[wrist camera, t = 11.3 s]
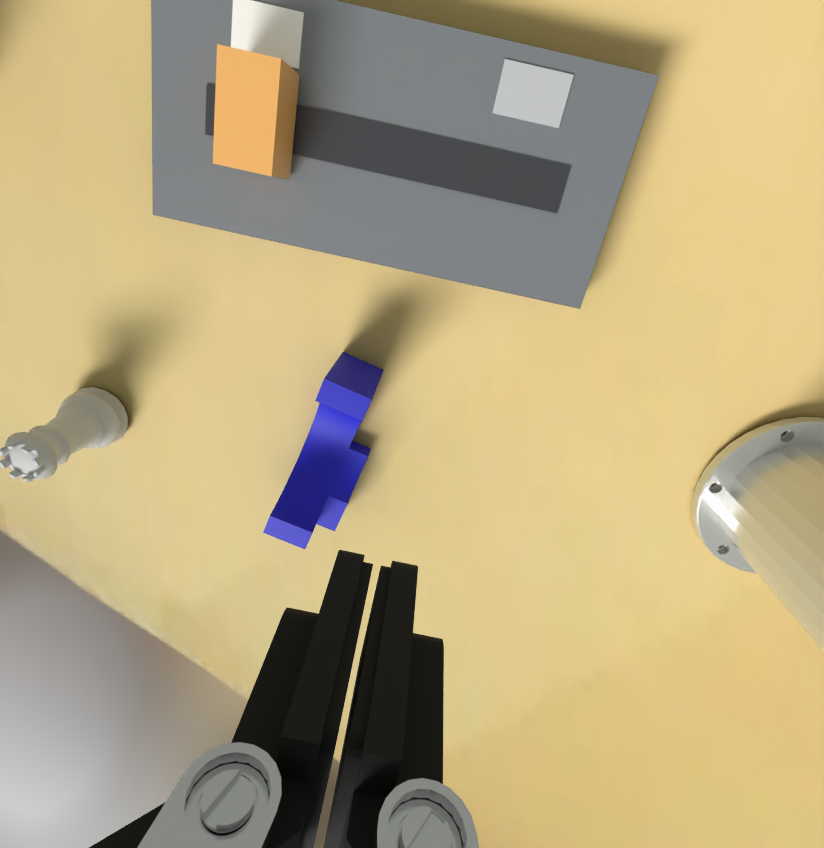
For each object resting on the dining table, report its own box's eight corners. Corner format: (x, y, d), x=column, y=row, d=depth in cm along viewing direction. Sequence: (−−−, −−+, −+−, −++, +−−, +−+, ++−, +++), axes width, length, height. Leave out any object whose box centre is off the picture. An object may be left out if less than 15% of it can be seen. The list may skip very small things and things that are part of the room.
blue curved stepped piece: (342, 508, 40) (325, 557, 34) (289, 486, 39) (263, 532, 34) (403, 377, 35) (395, 410, 30) (343, 351, 35) (324, 378, 29)
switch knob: (299, 74, 26) (281, 58, 23) (289, 179, 28) (271, 176, 25) (242, 62, 26) (217, 44, 23) (237, 167, 28) (212, 163, 25)
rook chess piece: (94, 372, 36) (5, 415, 29) (143, 417, 37) (70, 468, 30) (61, 409, 38) (-33, 458, 30) (109, 451, 39) (31, 508, 31)
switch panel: (644, 84, 27) (659, 74, 25) (572, 302, 32) (580, 309, 30) (171, -26, 27) (150, -44, 25) (169, 214, 32) (152, 214, 30)
